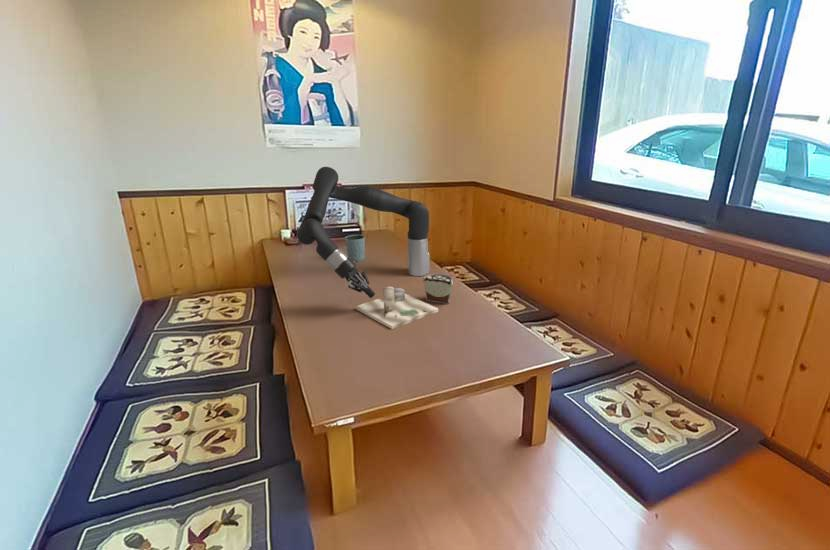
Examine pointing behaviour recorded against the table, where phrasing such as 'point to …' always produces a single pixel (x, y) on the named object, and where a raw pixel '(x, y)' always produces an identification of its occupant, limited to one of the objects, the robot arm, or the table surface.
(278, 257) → the table surface
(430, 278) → the food container
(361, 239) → the grey cup
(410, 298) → the dial plate
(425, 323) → the table surface
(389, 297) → the peg dial
